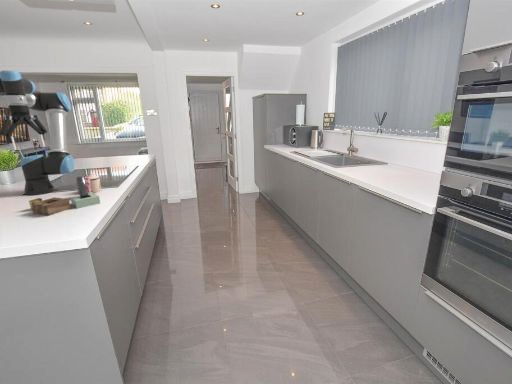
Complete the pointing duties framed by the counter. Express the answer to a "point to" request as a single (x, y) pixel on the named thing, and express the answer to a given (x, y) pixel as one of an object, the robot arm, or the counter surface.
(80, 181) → the dark grey peg
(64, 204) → the socket block
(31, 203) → the tan t-shaped block
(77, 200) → the green square frame
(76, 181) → the soda can
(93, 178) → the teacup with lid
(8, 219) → the counter surface
